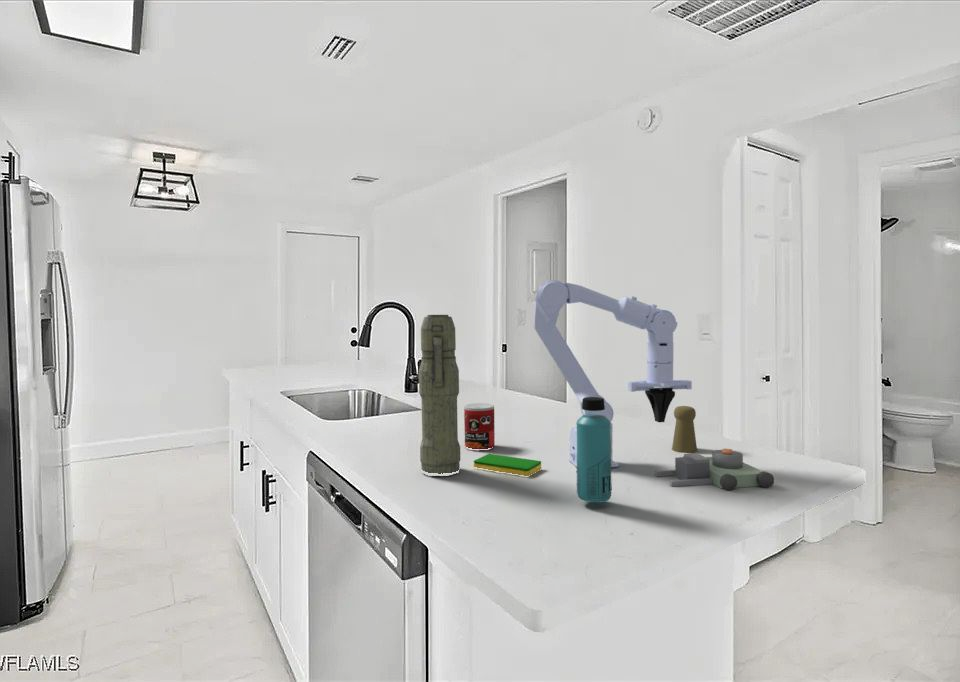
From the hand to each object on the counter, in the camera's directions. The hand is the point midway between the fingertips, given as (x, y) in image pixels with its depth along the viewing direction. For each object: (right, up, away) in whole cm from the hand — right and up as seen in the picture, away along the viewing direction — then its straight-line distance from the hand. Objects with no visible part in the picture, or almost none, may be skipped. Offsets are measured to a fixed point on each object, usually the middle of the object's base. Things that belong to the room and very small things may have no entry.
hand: (659, 421), depth 136 cm
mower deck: (+7, -11, -10) cm, 16 cm away
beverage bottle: (-20, -12, -26) cm, 35 cm away
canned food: (-41, -10, +18) cm, 46 cm away
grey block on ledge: (+3, -11, -11) cm, 16 cm away
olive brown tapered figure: (+10, -9, +13) cm, 19 cm away
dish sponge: (-35, -11, -2) cm, 37 cm away
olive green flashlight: (-50, -11, -3) cm, 51 cm away
